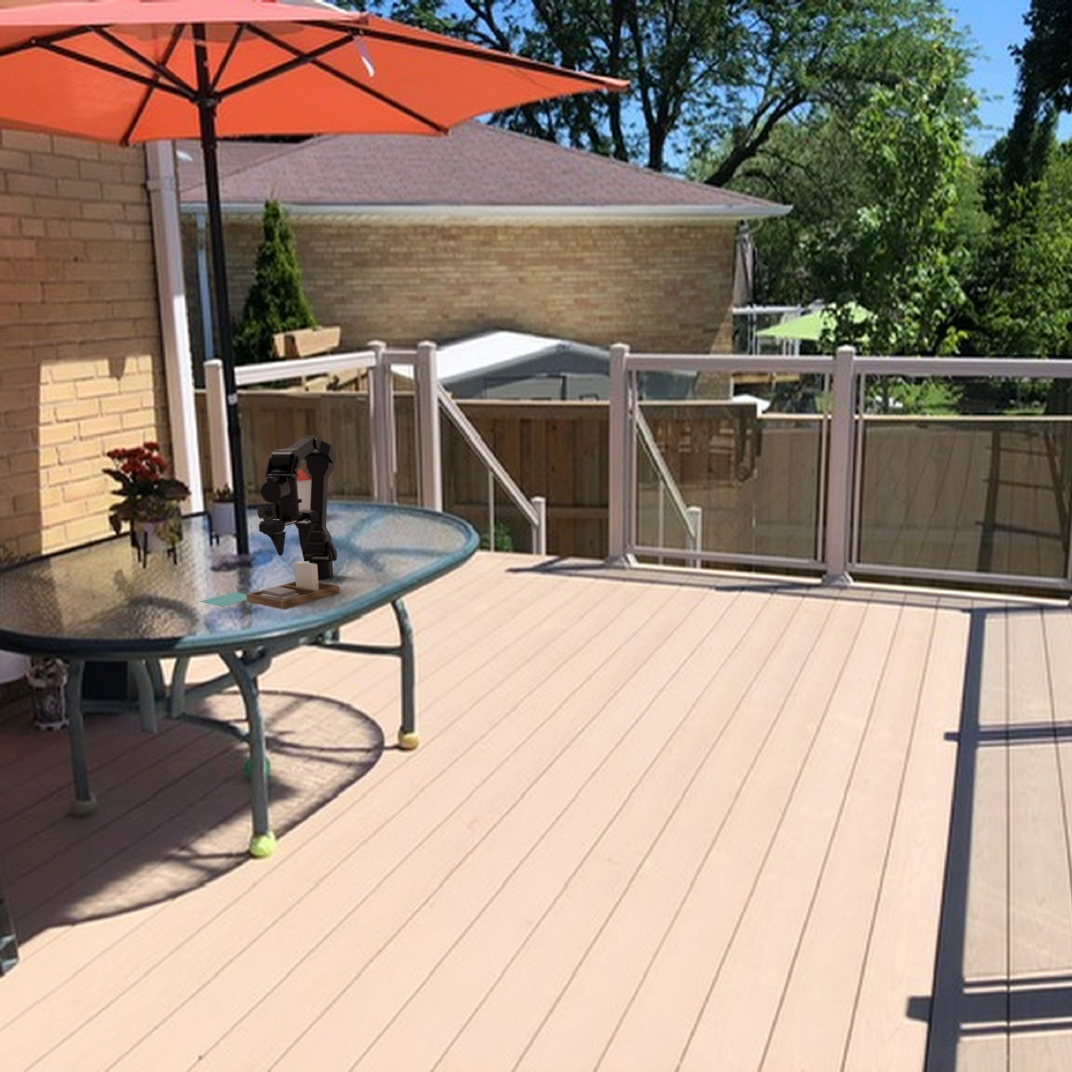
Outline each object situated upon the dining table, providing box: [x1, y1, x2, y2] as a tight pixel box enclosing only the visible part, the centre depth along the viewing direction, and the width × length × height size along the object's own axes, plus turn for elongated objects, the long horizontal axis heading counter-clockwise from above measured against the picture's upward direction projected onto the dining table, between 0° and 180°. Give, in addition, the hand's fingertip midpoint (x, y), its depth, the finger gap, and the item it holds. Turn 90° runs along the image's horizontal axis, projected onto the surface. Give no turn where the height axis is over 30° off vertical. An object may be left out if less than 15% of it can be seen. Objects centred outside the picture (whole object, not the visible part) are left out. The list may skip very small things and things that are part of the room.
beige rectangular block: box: [294, 560, 319, 591], centre depth 307 cm, size 2×7×8 cm, turn 53°
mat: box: [199, 591, 247, 607], centre depth 304 cm, size 12×10×1 cm
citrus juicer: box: [297, 468, 311, 511], centre depth 422 cm, size 16×17×20 cm
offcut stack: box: [260, 585, 299, 600], centre depth 299 cm, size 6×11×3 cm, turn 53°
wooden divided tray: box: [245, 580, 341, 610], centre depth 304 cm, size 20×15×3 cm
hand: (291, 551), depth 305 cm, fingers open, 9 cm apart
